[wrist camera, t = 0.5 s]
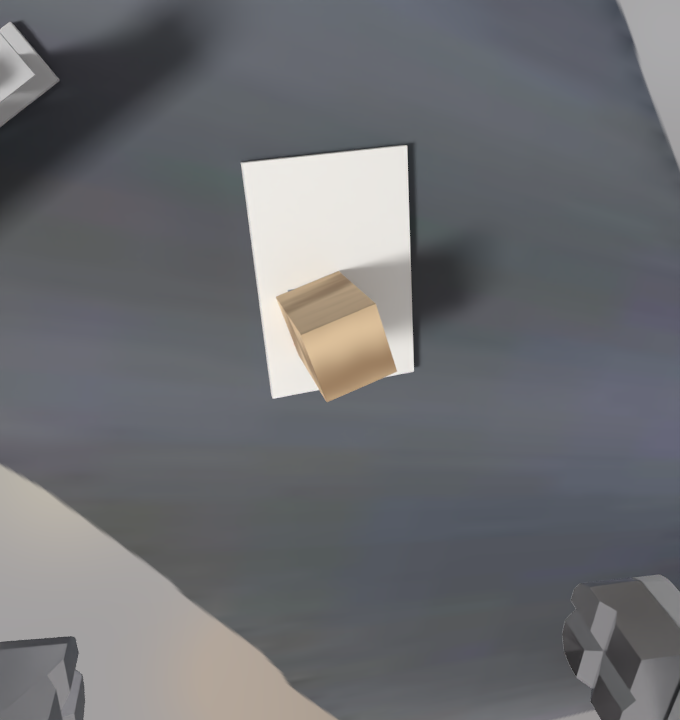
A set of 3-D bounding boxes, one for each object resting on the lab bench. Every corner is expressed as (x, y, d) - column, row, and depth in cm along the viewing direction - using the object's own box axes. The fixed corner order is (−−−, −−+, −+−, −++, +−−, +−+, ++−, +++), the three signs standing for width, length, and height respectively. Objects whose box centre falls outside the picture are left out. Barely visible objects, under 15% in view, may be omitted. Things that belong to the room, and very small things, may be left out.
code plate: (240, 162, 51) (242, 163, 50) (403, 144, 54) (407, 145, 53) (271, 395, 59) (273, 399, 58) (410, 368, 62) (414, 371, 62)
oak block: (275, 296, 55) (301, 335, 46) (338, 270, 56) (375, 303, 47) (298, 355, 57) (326, 402, 49) (358, 330, 58) (397, 371, 49)
